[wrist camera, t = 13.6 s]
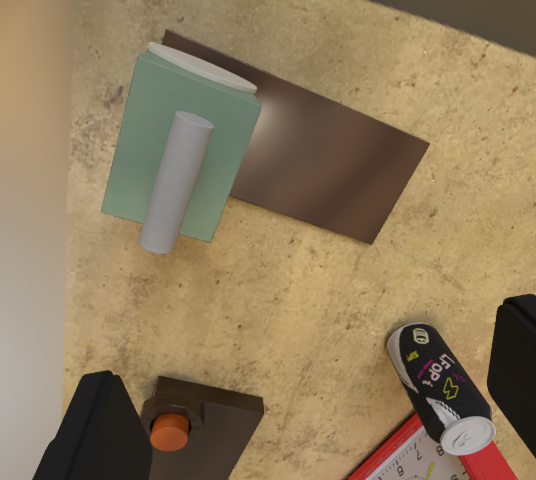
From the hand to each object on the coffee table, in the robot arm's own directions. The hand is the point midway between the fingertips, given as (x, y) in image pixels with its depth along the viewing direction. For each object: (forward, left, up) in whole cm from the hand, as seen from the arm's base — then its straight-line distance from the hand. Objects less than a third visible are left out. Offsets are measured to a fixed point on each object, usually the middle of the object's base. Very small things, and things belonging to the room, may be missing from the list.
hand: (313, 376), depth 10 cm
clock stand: (+2, 0, -25) cm, 25 cm away
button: (+2, -30, -21) cm, 36 cm away
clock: (-6, 0, -24) cm, 24 cm away
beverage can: (+23, -14, -25) cm, 37 cm away
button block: (+5, -35, -25) cm, 43 cm away
